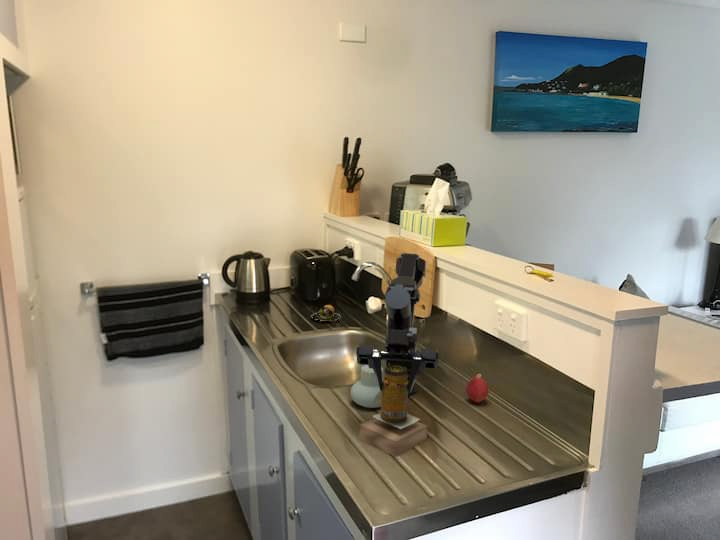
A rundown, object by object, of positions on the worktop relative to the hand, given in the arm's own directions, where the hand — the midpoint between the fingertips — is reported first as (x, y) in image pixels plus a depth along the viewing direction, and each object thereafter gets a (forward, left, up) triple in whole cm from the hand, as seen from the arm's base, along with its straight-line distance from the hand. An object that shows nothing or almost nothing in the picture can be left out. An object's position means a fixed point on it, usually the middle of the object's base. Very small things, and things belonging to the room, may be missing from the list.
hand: (395, 391), depth 131 cm
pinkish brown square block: (-1, +1, -13) cm, 13 cm away
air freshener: (-18, +11, -13) cm, 24 cm away
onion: (0, +33, -12) cm, 35 cm away
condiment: (-1, +1, -7) cm, 8 cm away
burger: (-83, +52, -13) cm, 99 cm away
